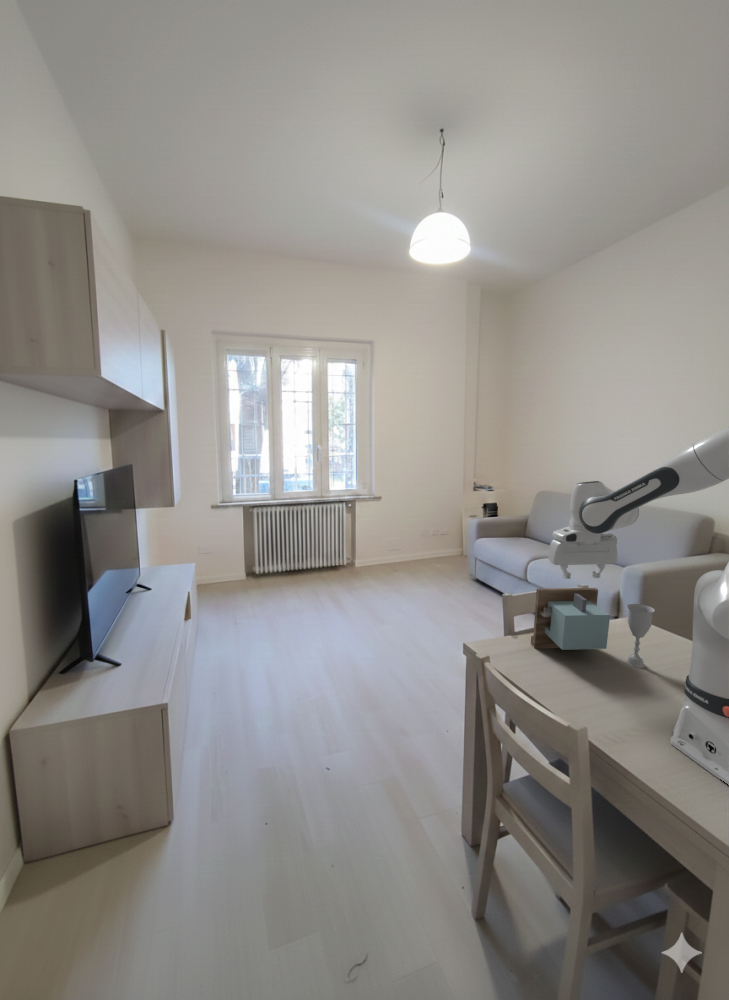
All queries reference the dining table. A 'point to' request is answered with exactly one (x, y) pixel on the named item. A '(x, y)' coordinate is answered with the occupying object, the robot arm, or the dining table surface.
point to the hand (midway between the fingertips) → (581, 578)
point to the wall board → (544, 612)
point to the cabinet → (578, 624)
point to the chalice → (638, 629)
